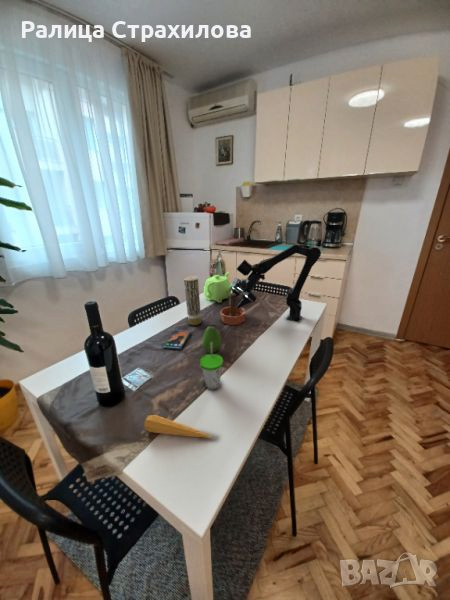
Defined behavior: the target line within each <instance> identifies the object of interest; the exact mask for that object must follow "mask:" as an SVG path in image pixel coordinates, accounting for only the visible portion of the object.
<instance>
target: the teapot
mask: <svg viewBox="0 0 450 600" xmlns="http://www.w3.org/2000/svg"><path fill="white" fill-rule="evenodd" d="M229 274H230V271H227V272H226V273H225V275H224V276H223V275H220V274H214V276H211V277H209V278H207V279H206V280H205V283H204V287H203V296H204V297H205V298H206V299H207V301H212V300H214V301H216V302H217V303H222V302H223V300H224V299H229V297H230V294H231V293H232V289H231V285H232V283H231V282H230V280H229Z"/></svg>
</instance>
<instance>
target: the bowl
mask: <svg viewBox="0 0 450 600" xmlns="http://www.w3.org/2000/svg"><path fill="white" fill-rule="evenodd" d="M229 314H230V306H225V307H223V308H222V309H220V321H221V322H222V323H224V324H225V325H229V326H238V325H241V324H243V323H244V322H245V321H246V309H245V308H243V307H240V308H237V306H236V314H237V316H232V317H231V316H229Z"/></svg>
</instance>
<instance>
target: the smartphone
mask: <svg viewBox="0 0 450 600" xmlns="http://www.w3.org/2000/svg"><path fill="white" fill-rule="evenodd" d="M191 332H192V331H191V330H188V329H187V330H185V329H175V330H174V331H173V333H172V334H171V335H170V336H169V338H168V339H167V341H166V342H165V343H164V345H163V349H170V350H181V349H182V348H183V346H184V344H185V343H186V342H187V339H188V338H189V336H190V334H191Z"/></svg>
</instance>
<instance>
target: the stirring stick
mask: <svg viewBox="0 0 450 600" xmlns="http://www.w3.org/2000/svg"><path fill="white" fill-rule="evenodd" d="M229 299H230V302H229V307H230V314H229V316H231V317H232V316H237V314H236V307H237V297H236V294H235V293H232V292H231V294H230V295H229Z"/></svg>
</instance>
